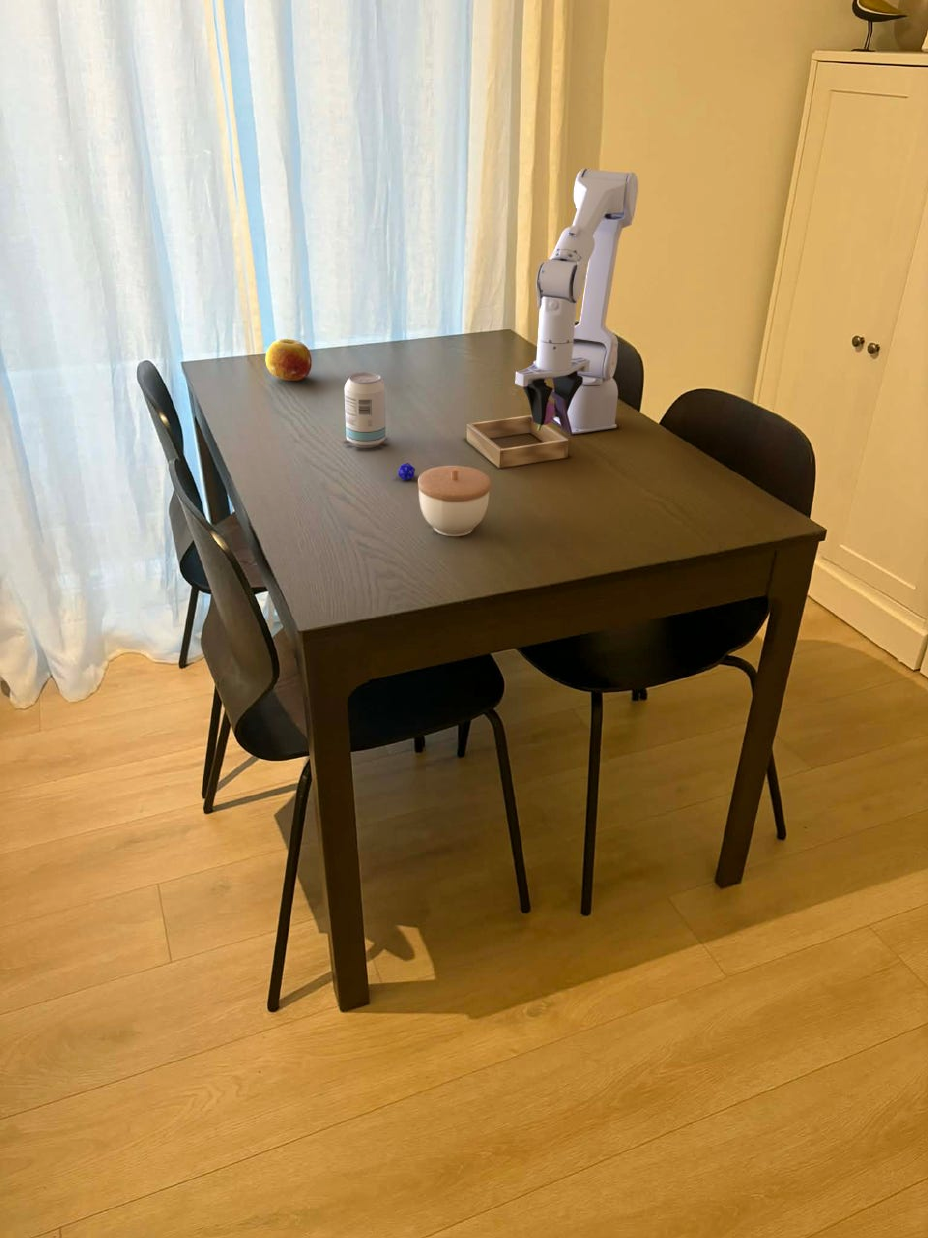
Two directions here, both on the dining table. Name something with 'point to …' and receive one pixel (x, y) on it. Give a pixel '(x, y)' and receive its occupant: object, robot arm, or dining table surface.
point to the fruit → (288, 360)
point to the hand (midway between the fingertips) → (549, 419)
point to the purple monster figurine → (561, 413)
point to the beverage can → (365, 409)
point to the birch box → (548, 450)
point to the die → (406, 471)
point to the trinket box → (453, 498)
